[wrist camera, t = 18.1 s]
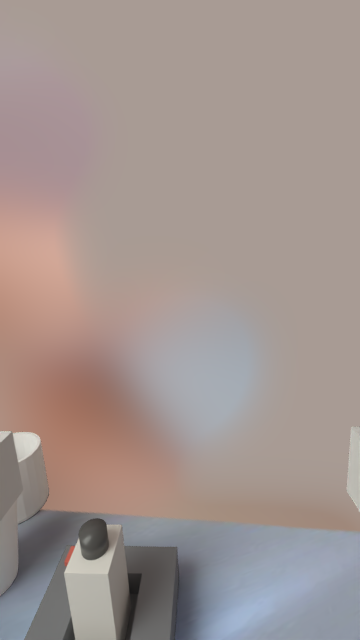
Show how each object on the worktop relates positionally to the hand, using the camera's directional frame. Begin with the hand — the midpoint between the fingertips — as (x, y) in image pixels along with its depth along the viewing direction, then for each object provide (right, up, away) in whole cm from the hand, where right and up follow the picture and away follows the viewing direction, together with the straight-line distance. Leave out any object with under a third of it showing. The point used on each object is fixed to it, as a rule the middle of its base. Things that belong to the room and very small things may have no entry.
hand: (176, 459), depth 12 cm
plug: (-8, -27, +20) cm, 35 cm away
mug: (-29, -26, +40) cm, 56 cm away
